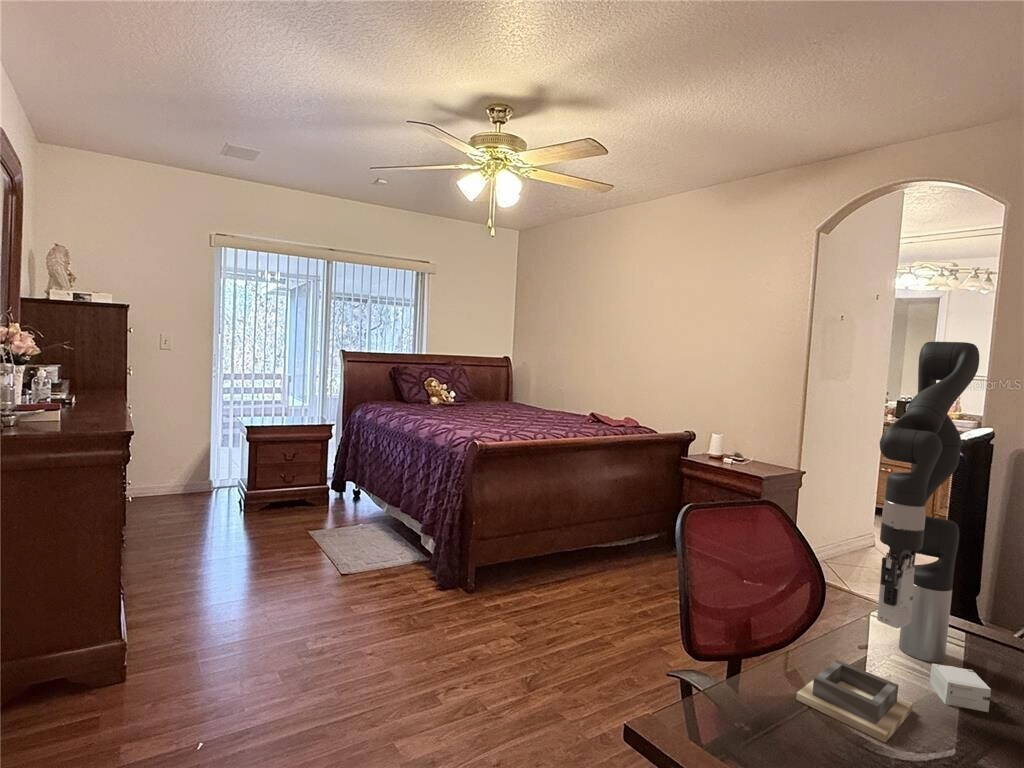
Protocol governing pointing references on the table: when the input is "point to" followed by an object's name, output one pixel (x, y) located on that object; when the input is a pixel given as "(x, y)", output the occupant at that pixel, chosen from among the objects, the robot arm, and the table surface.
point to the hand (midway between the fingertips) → (895, 600)
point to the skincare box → (898, 602)
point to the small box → (960, 687)
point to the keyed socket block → (857, 699)
